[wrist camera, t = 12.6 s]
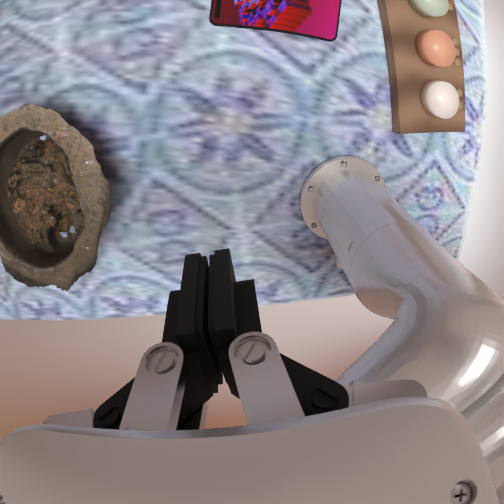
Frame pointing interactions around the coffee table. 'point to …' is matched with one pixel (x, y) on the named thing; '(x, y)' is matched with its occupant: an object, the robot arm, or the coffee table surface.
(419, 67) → the button board
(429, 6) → the sage button
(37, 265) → the stone bowl
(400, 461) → the robot arm
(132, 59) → the coffee table surface
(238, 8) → the smartphone
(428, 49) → the terracotta button
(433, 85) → the off-white button
